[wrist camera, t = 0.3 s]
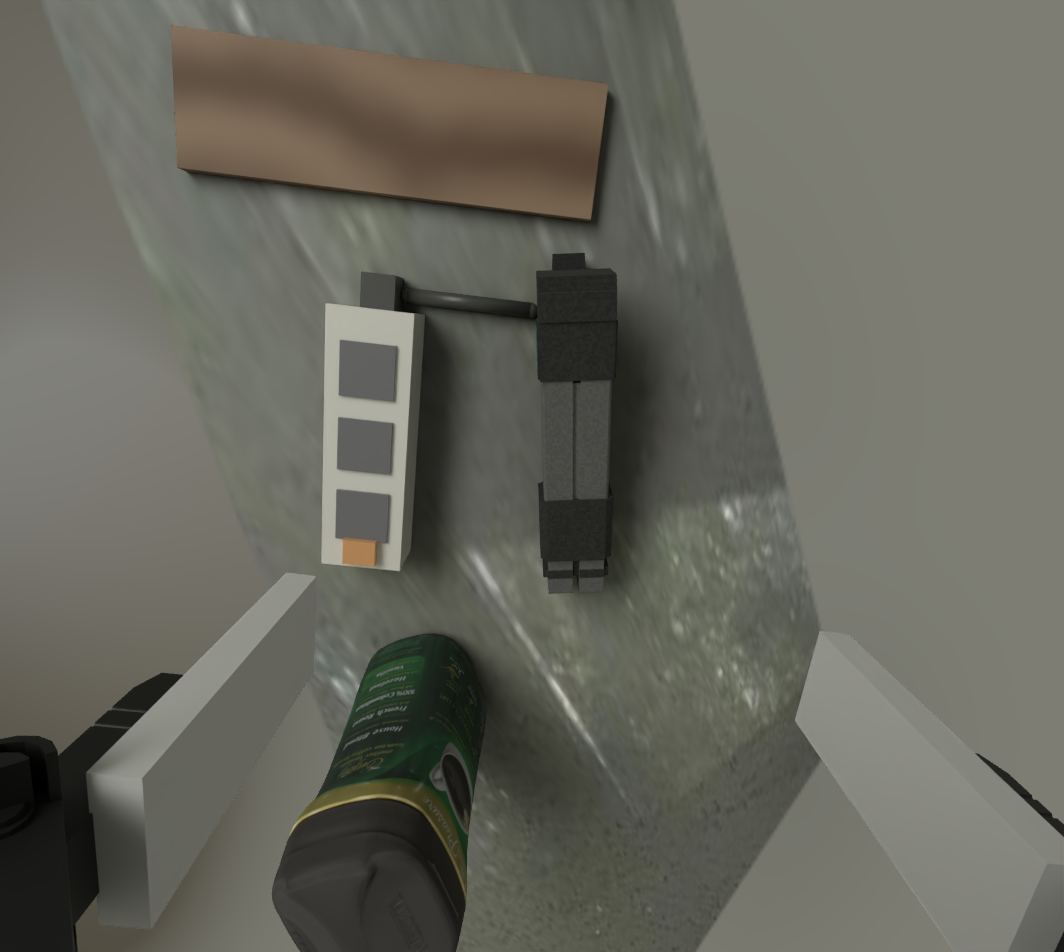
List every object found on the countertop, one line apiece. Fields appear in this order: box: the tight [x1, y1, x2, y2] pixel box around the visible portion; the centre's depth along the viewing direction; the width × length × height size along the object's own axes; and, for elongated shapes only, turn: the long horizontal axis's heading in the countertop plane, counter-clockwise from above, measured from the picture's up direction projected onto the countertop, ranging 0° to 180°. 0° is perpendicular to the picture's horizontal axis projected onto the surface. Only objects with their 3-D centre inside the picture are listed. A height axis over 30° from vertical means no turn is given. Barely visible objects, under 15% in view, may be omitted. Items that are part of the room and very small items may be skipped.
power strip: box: [322, 272, 537, 571], centre depth 35 cm, size 18×12×4 cm, turn 173°
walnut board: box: [171, 25, 608, 222], centre depth 32 cm, size 7×24×1 cm, turn 84°
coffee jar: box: [272, 634, 486, 952], centre depth 33 cm, size 10×8×19 cm
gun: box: [536, 253, 618, 594], centre depth 36 cm, size 4×20×10 cm, turn 2°
